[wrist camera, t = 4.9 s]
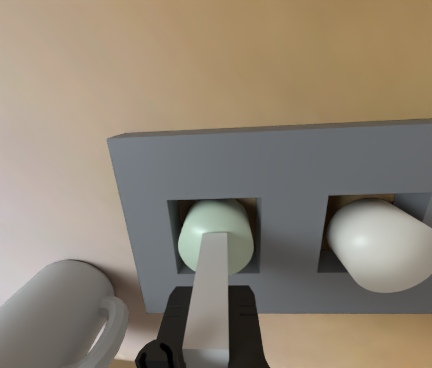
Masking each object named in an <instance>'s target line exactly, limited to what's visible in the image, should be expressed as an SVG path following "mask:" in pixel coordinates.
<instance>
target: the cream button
mask: <svg viewBox="0 0 432 368" xmlns="http://www.w3.org/2000/svg"><path fill="white" fill-rule="evenodd" d="M326 238H327V242H328V244H329V246H330V247H331V249H332V250H333V252H334V253H335V254H336V256H337V257H338V258H339V260H340V261H341V262H342V264H343V265H344V267H345V268H346V269H347V271H348V272H349V273H350V275H351V276H352V277H353V279H354V280H355V281H356V282H357V283H358V284H359V285H360V286H361V287H363V288H365V289H367V290H370V291H373V292H379V293H392V292H398V291H403V290H406V289H409V288H411V287H414V286H416V285H417V284H419V283H421V282H422V281H424V280H425V279H427V278H428V277H429V276H430V275H431V274H432V228H431V227H429V226H427V225H426V224H424V223H422V222H421V221H419V220H417V219H416V218H414V217H412V216H411V215H409V214H407V213H406V212H404V211H402V210H401V209H399V208H397V207H396V206H394V205H392V204H391V203H389V202H387V201H385V200H382V199H378V198H364V199H359V200H356V201H353V202H351V203H349V204H347V205H345V206H344V207H342V208H341V209H340V210H338V211H337V212H336V213H335V214H334V216H333V217H332V218H331V220H330V222H329V224H328V226H327V231H326Z"/></svg>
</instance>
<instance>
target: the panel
mask: <svg viewBox="0 0 432 368" xmlns="http://www.w3.org/2000/svg"><path fill="white" fill-rule="evenodd" d="M107 144H108V148H109V152H110V157H111V161H112V165H113V170H114V174H115V178H116V183H117V187H118V191H119V196H120V200H121V204H122V209H123V213H124V217H125V222H126V226H127V230H128V235H129V239H130V243H131V248H132V252H133V256H134V261H135V265H136V269H137V274H138V278H139V282H140V287H141V291H142V295H143V300H144V304H145V308H146V313H164V312H165V309H166V305H167V302H168V299H169V295H170V294H171V293H172V291H173V290H174V289H175V287H176V286H193V285H194V279H195V273H196V272H195V271H193V270H192V269H191V268H189V267H188V266H187V265H186V264H185V262H184V261H183V260H182V258H181V256H180V253H179V249H178V241H179V237H180V234H181V226H180V218H179V210H178V202H177V200H189V199H224V198H256V240H255V251H253V255H252V257H251V259H250V261H249V263H248V264H247V265H246V266H245V267H244V268H243V269H242V270H240V271H239V272H237V273H235V274H232V275H229V285H249V286H250V288H251V289H252V291H253V293H254V294H255V300H256V307H257V313H283V314H432V274H431V275H430V276H429V277H428V278H427V279H425V280H424V281H422V282H421V283H419V284H417V285H416V286H414V287H411V288H409V289H406V290H403V291H398V292H392V293H379V292H373V291H370V290H367V289H365V288H363V287H361V286H360V285H359V284H358V283H357V282H356V281H355V280H354V279H353V277H352V276H351V275H350V273H349V272H348V271H347V269H346V268H345V267H344V265H343V264H342V262H341V261H340V260H339V258H338V257H337V256H336V254H335V253H334V252H333V250H320V249H321V242H322V236H323V229H324V222H325V215H326V209H327V202H328V195H362V194H396V195H395V198H394V202H393V205H394V206H396V207H397V208H399V209H401V210H402V211H404V212H406V213H407V214H409V215H411V216H412V217H414V218H416V219H417V220H419V221H421V222H422V223H424V224H426V225H427V226H429V227H431V228H432V119H412V120H391V121H370V122H349V123H328V124H307V125H286V126H265V127H244V128H222V129H201V130H180V131H159V132H138V133H124V134H121V135H117V136H114V137H110V138H107Z"/></svg>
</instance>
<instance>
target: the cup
mask: <svg viewBox="0 0 432 368" xmlns="http://www.w3.org/2000/svg"><path fill="white" fill-rule="evenodd" d="M107 318H108V321H107V324H106V327H105V329H104V331H103V333H102V335H101V336H100V338H99V340H98V341H97V343H96V344H95V345H94V347H93V348H92V350H91V351H90V352H89V350H90V348H91V346H92V344H93V343H94V341H95V339H96V337H97V335H98V334H99V332H100V330H101V328H102V326H103V324H104V323H105V321H106V319H107ZM128 321H129V308H128V306H127V305H126V304H125V302H124V301H123V300H121V299H120V298H117V297H115V296H114V289H113V286H112V284H111V282H110V280H109V279H108V278H107V277H106V275H105V274H104V273H102V272H101V271H100V270H98V269H97V268H96V267H94V266H92V265H90V264H87V263H84V262H80V261H75V260H65V261H59V262H54V263H52V264H50V265H47V266H46V267H45V268H43V269H42V270H41V271H39V272H38V273H37V274H36V275H35V276H34V277H33V278H32V279H31V280H29V281H28V282H27V283H26V284H25V285H24V286H23V287H22V288H21V289H19V290H18V291H17V292H16V293H15V294H14V295H13V296H12V297H11V298H9V299H8V300H7V301H6V302H5V303H4V304H3V305H2V306H1V307H0V368H108V367H109V365H110V364H111V362H112V360H113V359H114V357H115V356H116V354H117V352H118V350H119V348H120V346H121V344H122V341H123V339H124V337H125V333H126V329H127V325H128ZM88 352H89V353H88ZM87 353H88V354H87Z"/></svg>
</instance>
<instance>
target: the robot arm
mask: <svg viewBox="0 0 432 368" xmlns="http://www.w3.org/2000/svg"><path fill="white" fill-rule="evenodd" d="M135 363H136V366H137V368H270V367H269V365H268V363H267V361H266V359H265V356H264V352H263V346H262V339H261V333H260V326H259V320H258V313H257V307H256V300H255V294H254V293H253V291H252V289H251V288H250V286H249V285H229V273H228V244H227V233H203V234H202V240H201V245H200V251H199V256H198V262H197V268H196V273H195V279H194V285H193V286H176V287H175V289H174V290H173V291H172V293H171V294H170V295H169V299H168V302H167V305H166V309H165V312H164V317H163V319H162V322H161V326H160V329H159V333H158V336H157V339H156V340H153V341H151V342H149V343H148V344H146V345H145V346H144V347H143V348H142V349H141V350H140V351H139V353H138V355H137V357H136V359H135Z"/></svg>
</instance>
